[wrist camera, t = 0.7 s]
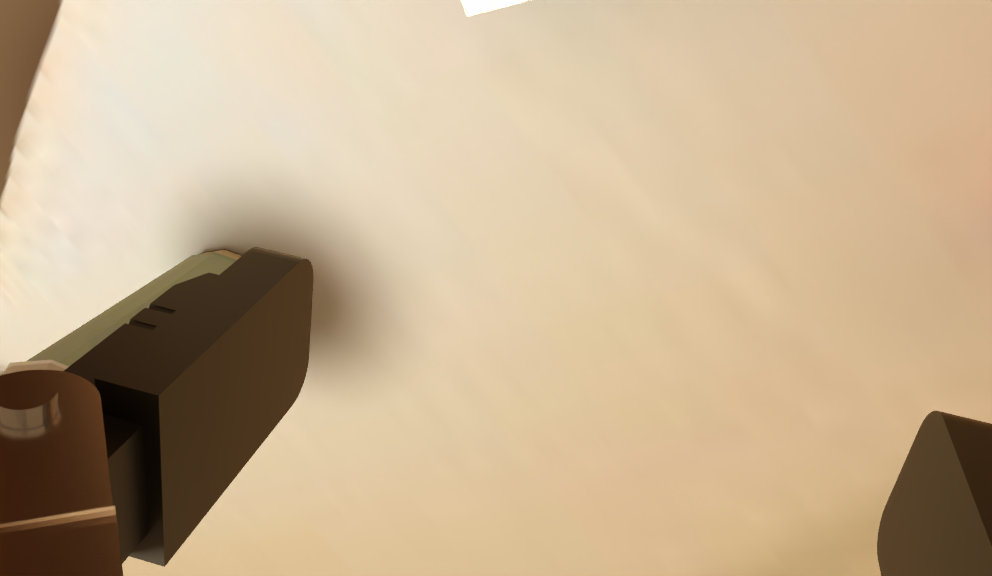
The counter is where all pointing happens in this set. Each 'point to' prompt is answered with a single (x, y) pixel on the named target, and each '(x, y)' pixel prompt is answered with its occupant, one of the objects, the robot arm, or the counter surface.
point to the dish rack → (486, 5)
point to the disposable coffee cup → (122, 313)
